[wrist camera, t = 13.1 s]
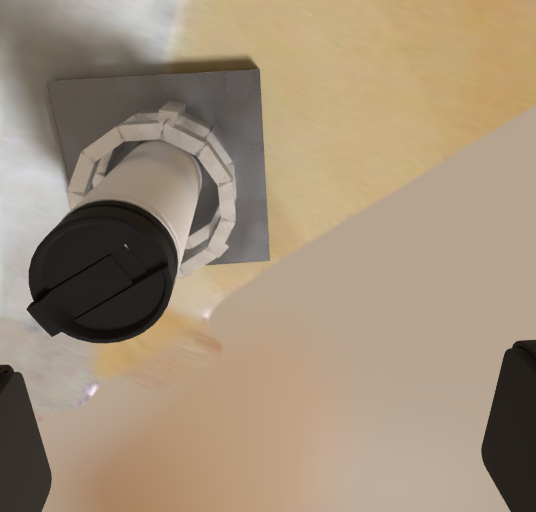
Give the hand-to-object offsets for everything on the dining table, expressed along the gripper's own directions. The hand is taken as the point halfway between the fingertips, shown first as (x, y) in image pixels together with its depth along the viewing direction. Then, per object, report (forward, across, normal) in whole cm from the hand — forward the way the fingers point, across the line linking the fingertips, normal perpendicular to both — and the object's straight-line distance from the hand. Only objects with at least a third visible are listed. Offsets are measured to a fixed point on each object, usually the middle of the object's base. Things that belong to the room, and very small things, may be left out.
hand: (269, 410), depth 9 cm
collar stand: (+32, +6, +4) cm, 33 cm away
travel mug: (+32, +7, +4) cm, 32 cm away
